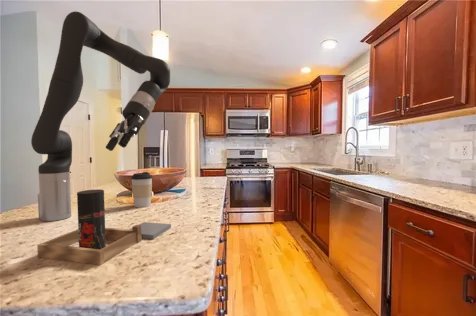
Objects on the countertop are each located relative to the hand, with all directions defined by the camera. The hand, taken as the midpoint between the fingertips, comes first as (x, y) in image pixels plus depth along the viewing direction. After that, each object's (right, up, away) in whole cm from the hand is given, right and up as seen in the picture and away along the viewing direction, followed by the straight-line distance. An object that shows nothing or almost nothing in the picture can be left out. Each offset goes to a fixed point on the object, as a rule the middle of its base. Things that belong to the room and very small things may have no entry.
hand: (114, 147), depth 72 cm
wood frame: (0, -27, -10) cm, 29 cm away
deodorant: (0, -27, -10) cm, 29 cm away
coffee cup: (-6, -25, +36) cm, 45 cm away
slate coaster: (+10, -26, +2) cm, 28 cm away
